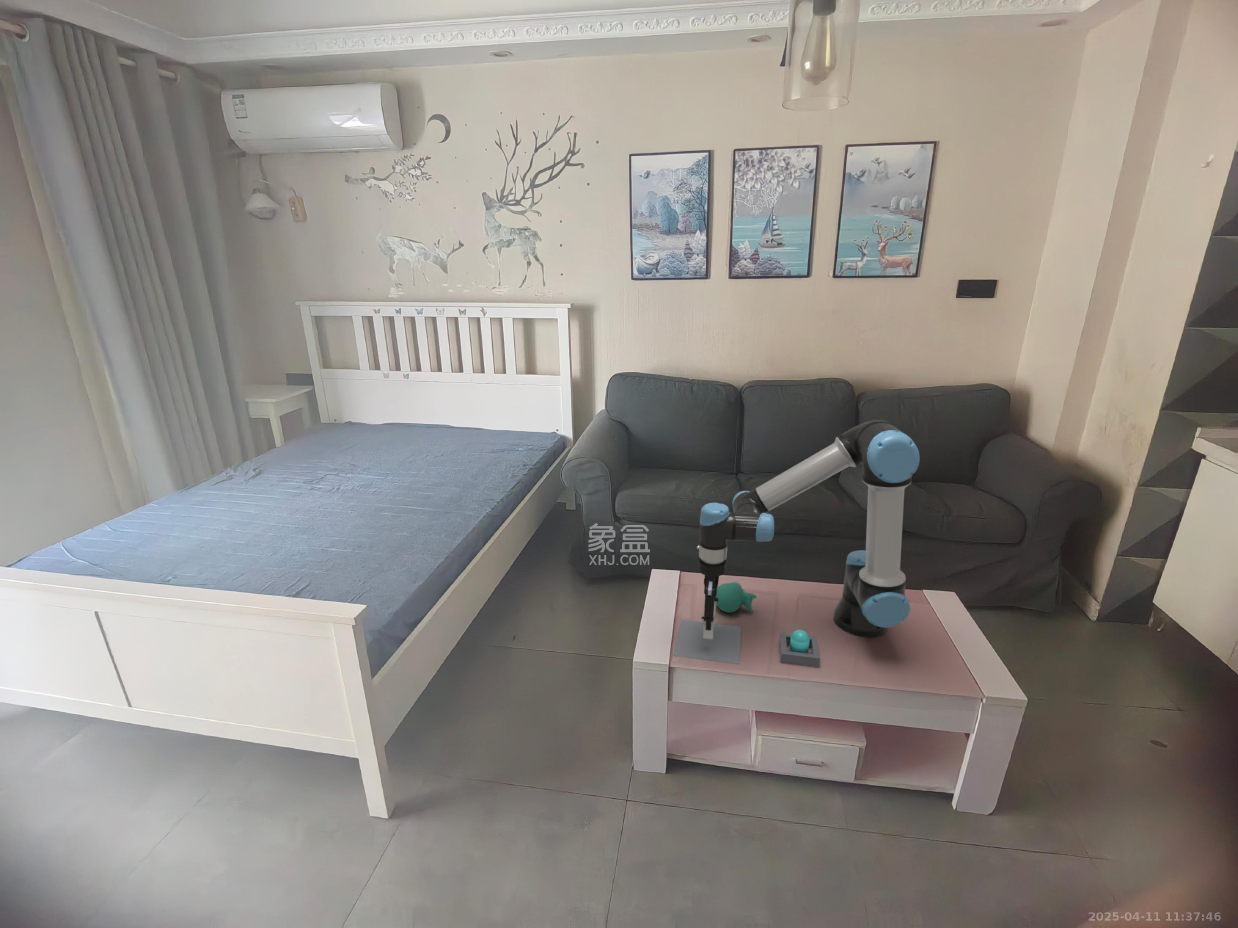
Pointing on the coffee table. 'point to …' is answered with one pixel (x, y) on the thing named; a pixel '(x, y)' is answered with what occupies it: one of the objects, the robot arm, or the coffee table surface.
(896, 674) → the coffee table surface
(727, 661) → the mat
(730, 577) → the coffee table surface
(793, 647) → the dome
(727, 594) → the toy
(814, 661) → the dome housing
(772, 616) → the coffee table surface
